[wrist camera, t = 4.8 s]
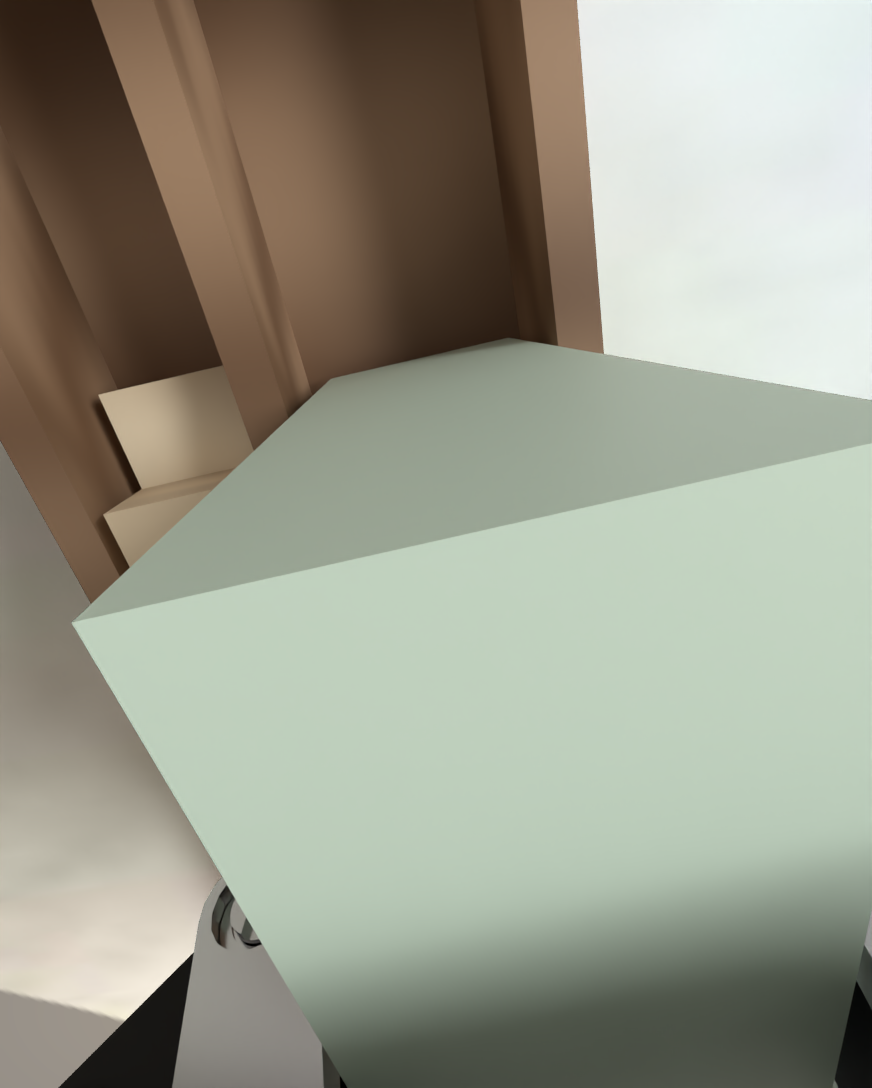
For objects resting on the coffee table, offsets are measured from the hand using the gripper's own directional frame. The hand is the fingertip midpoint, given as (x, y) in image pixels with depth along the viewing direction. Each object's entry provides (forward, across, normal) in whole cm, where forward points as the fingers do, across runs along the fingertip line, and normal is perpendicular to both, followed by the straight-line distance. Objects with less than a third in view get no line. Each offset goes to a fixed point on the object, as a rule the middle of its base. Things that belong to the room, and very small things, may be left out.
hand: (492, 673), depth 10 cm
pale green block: (+4, 0, 0) cm, 4 cm away
